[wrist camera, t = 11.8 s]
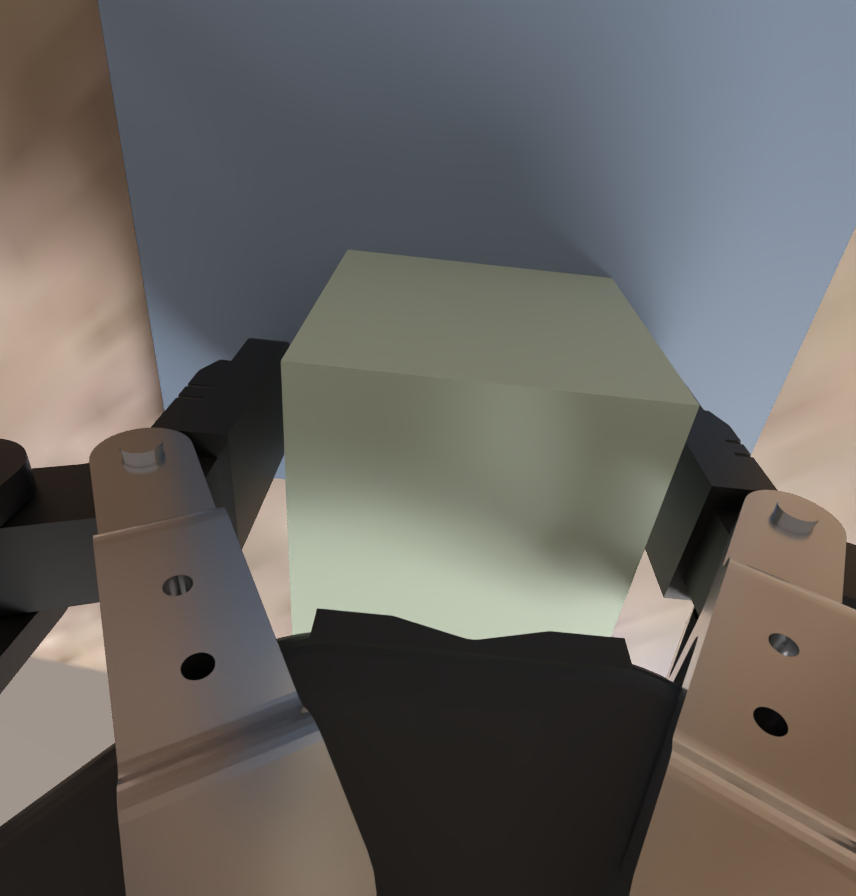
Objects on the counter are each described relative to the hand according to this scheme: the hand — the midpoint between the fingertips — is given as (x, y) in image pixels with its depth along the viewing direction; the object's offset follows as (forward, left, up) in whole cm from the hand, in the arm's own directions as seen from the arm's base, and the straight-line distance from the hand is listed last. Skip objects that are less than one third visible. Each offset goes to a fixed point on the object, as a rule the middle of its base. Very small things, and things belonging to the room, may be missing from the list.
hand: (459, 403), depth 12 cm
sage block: (0, 0, -1) cm, 1 cm away
